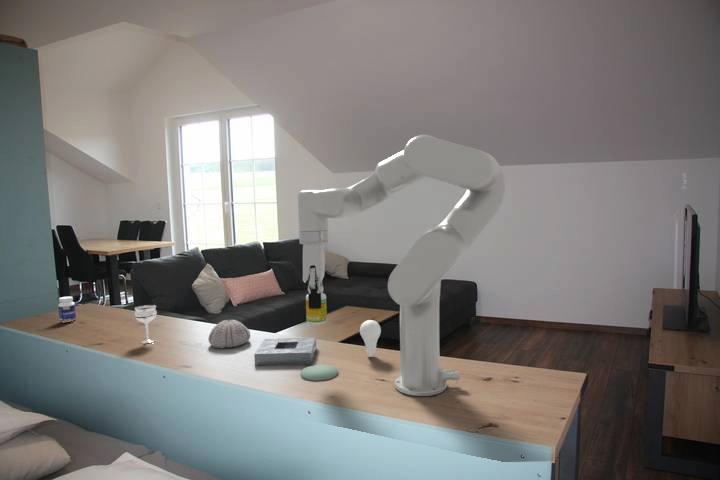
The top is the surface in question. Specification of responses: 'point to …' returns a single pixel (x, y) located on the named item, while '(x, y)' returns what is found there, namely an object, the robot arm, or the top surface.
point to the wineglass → (146, 316)
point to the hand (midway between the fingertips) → (316, 304)
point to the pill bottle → (66, 309)
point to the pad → (319, 372)
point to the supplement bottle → (317, 310)
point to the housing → (285, 352)
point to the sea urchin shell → (229, 334)
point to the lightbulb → (370, 335)
